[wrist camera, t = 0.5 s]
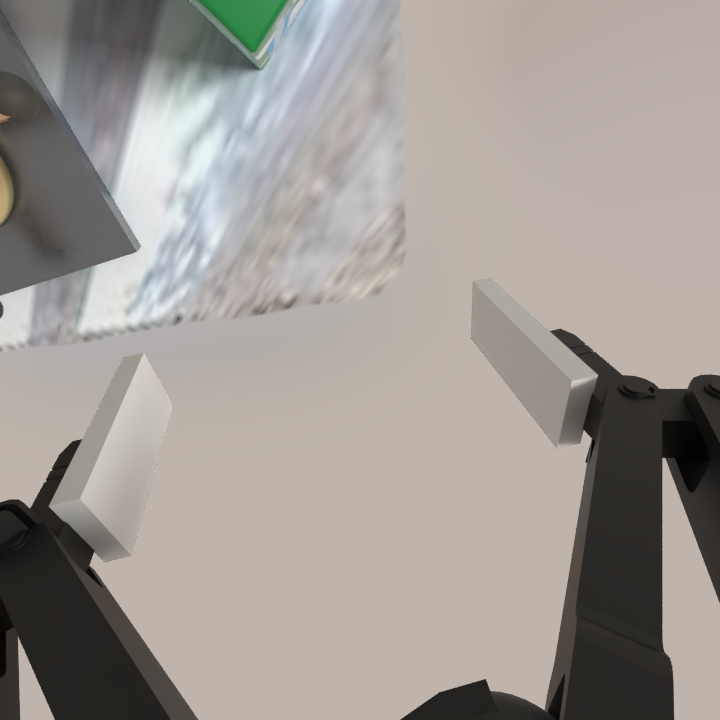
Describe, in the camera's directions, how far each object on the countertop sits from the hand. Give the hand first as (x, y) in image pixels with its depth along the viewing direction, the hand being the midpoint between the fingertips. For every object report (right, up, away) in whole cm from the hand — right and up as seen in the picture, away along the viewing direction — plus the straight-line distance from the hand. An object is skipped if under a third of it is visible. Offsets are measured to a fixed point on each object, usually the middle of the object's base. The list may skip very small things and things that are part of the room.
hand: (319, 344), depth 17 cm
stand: (-31, +16, +15) cm, 38 cm away
